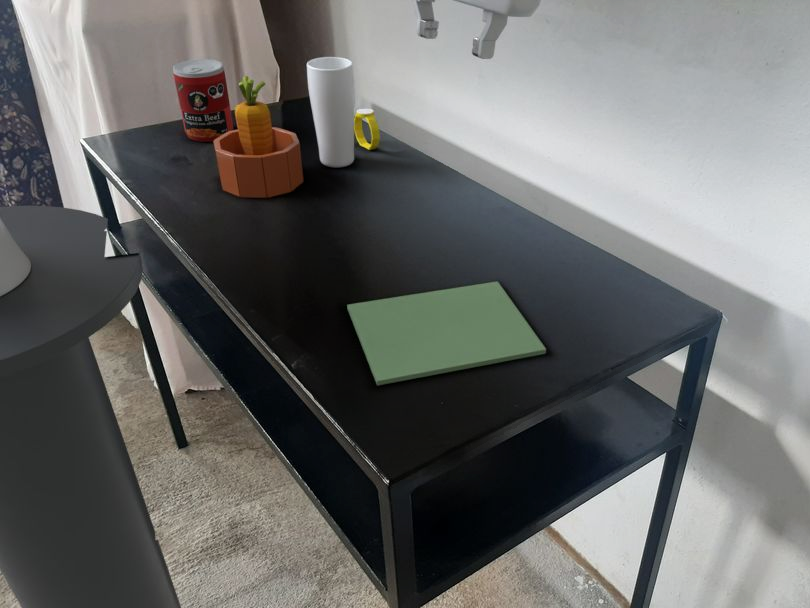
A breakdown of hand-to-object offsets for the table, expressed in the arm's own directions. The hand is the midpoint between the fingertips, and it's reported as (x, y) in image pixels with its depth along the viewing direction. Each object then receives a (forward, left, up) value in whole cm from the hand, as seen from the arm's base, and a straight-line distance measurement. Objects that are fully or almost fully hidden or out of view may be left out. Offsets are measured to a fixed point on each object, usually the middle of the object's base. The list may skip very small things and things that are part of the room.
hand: (453, 47), depth 77 cm
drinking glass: (-8, +32, -25) cm, 41 cm away
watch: (-2, +37, -25) cm, 45 cm away
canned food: (-26, +49, -25) cm, 61 cm away
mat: (-6, -16, -25) cm, 30 cm away
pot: (-20, +28, -25) cm, 42 cm away
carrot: (-20, +28, -25) cm, 42 cm away
